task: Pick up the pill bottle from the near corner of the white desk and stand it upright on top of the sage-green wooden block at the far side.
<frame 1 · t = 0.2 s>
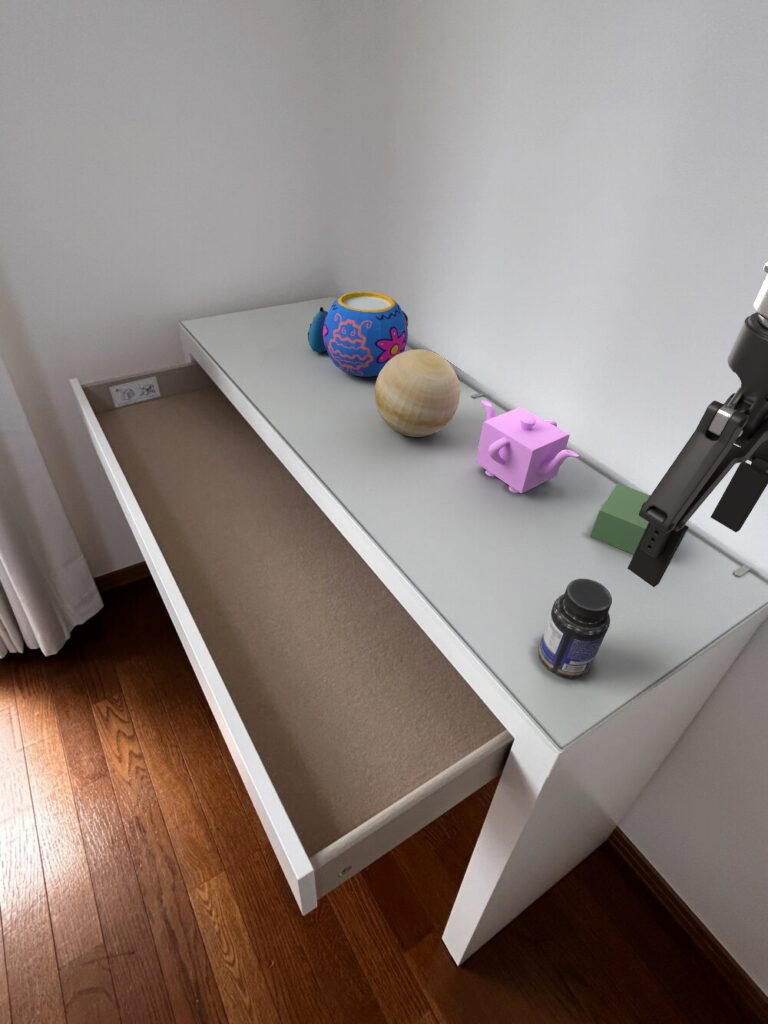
hand: (686, 548, 53), 20 cm above the table, tool pointing down, fingers open, 13 cm apart
pill bottle: (562, 659, 67), on the table
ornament: (321, 351, 129), on the table
ceramic pot: (364, 371, 123), on the table
decorative ball: (413, 431, 105), on the table
block: (626, 533, 85), on the table
teapot: (514, 476, 95), on the table
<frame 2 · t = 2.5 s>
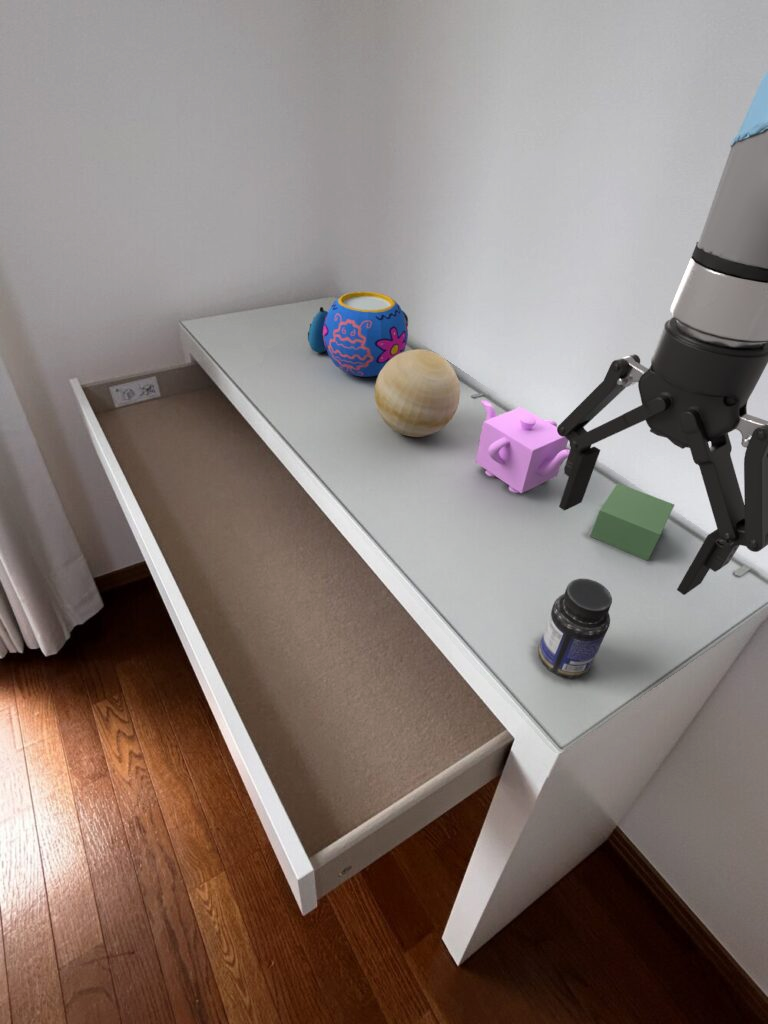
hand: (625, 542, 55), 19 cm above the table, tool pointing down, fingers open, 13 cm apart
nothing on the table moved.
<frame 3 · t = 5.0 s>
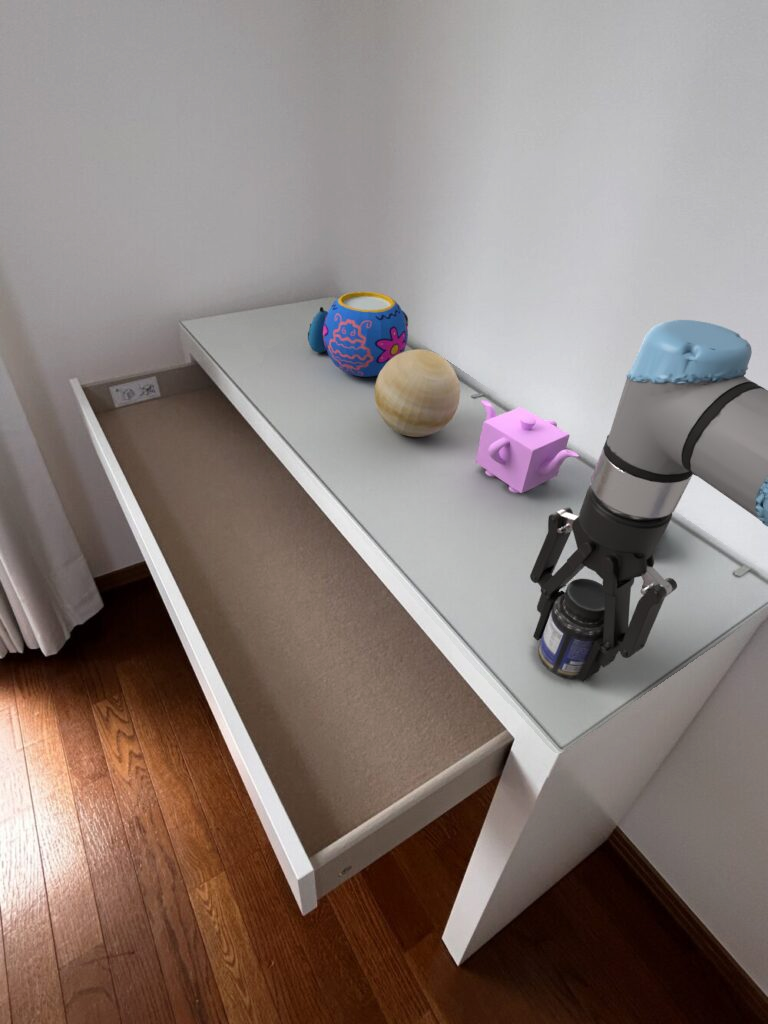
hand: (565, 653, 66), 1 cm above the table, tool pointing down, fingers closed on pill bottle, 6 cm apart
pill bottle: (562, 659, 67), on the table, touching gripper
everything else where it was.
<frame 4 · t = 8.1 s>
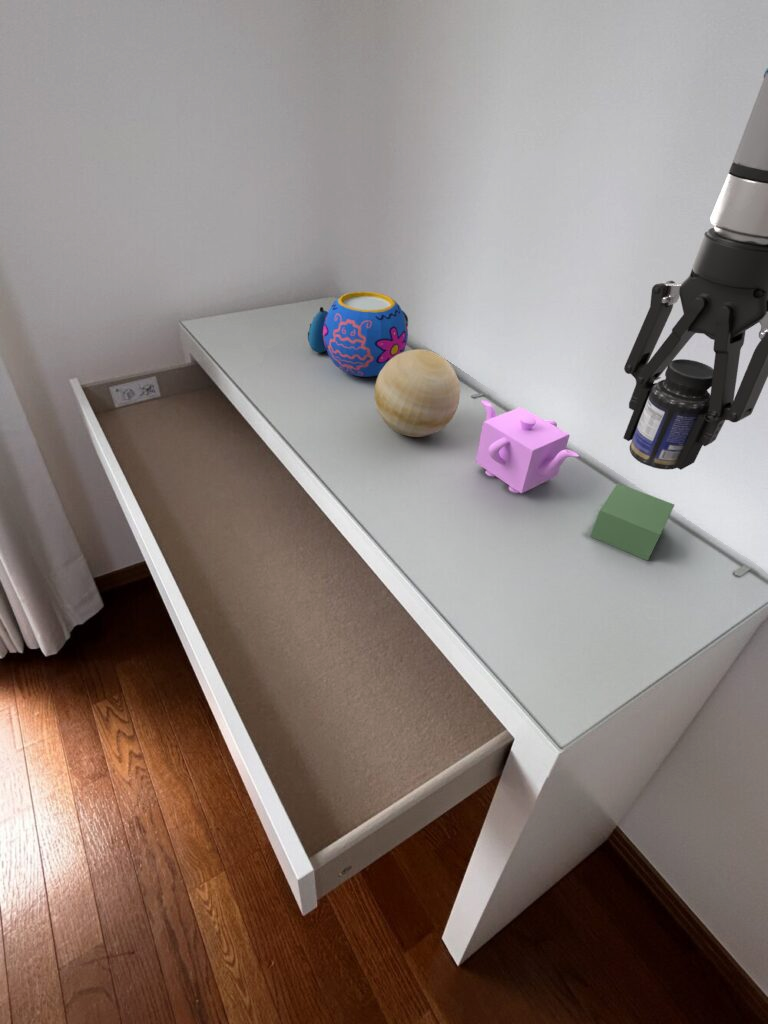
hand: (657, 449, 66), 20 cm above the table, tool pointing down, fingers closed on pill bottle, 6 cm apart
pill bottle: (654, 458, 66), point 19 cm above the table, touching gripper
everything else where it was.
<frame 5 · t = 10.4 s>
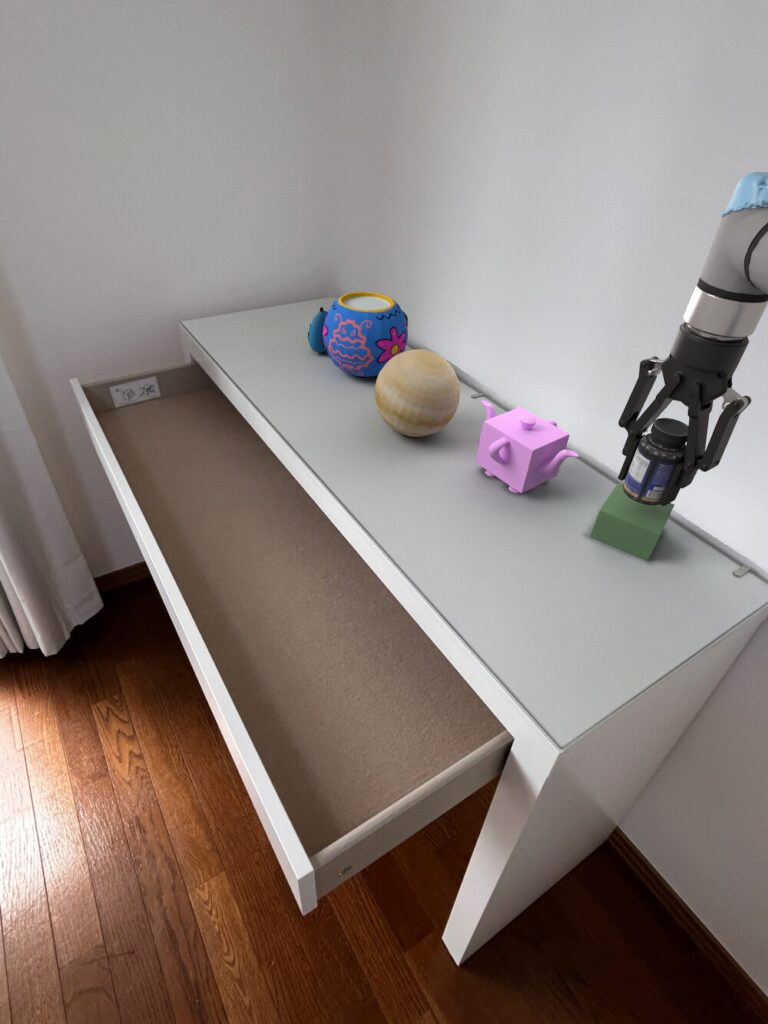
hand: (645, 488, 80), 8 cm above the table, tool pointing down, fingers closed on pill bottle, 6 cm apart
pill bottle: (642, 495, 81), point 7 cm above the table, touching gripper
everything else where it was.
when the fingers open (6 cm above the table, at t = 11.5 s): pill bottle stays where it is, resting on block.
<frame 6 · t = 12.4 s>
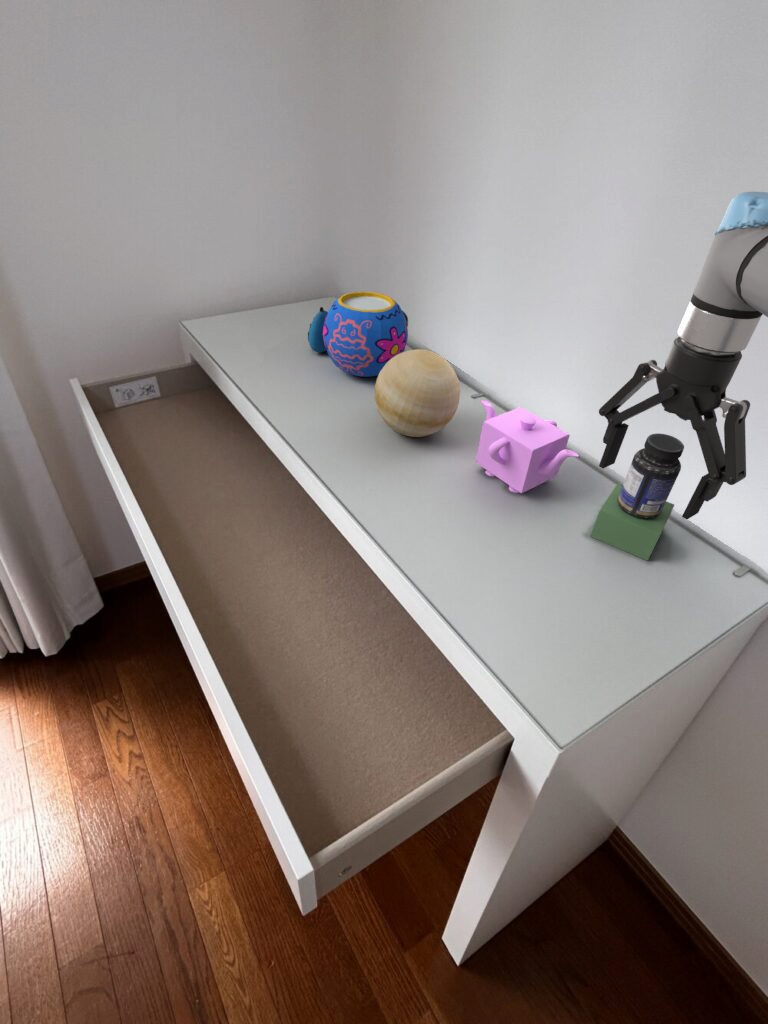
hand: (646, 488, 80), 8 cm above the table, tool pointing down, fingers open, 13 cm apart
pill bottle: (637, 508, 82), point 5 cm above the table, touching block
everything else where it was.
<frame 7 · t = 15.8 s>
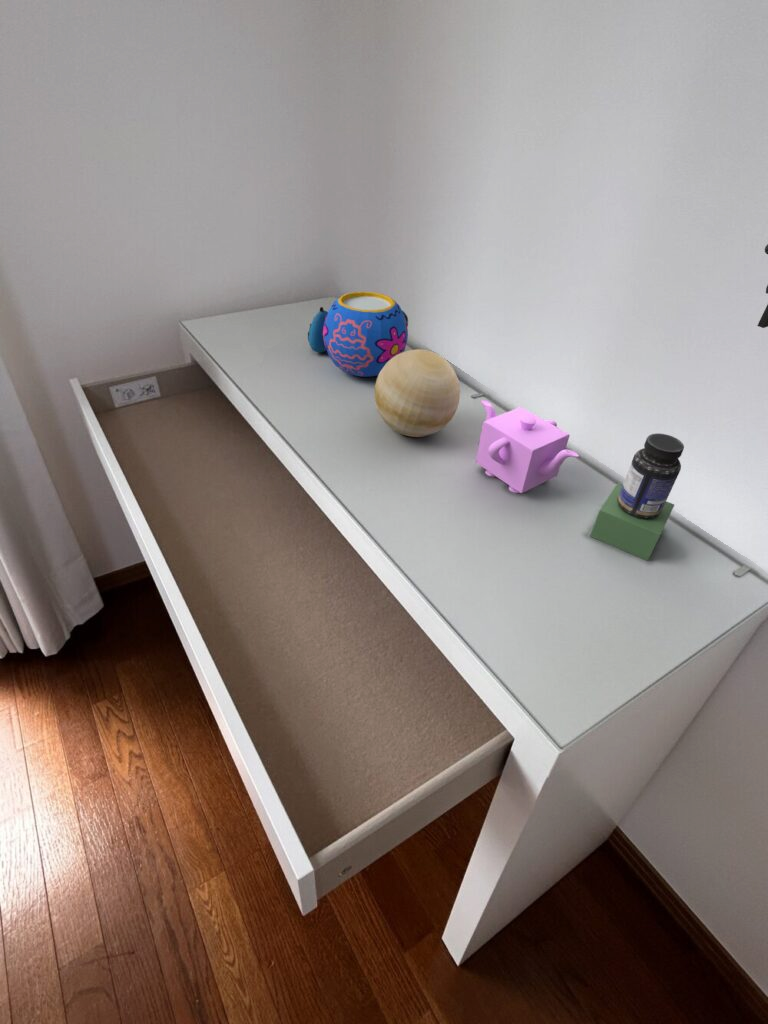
nothing on the table moved.
at the end: pill bottle 0.0 cm off-centre on the block, point 4.8 cm above the block's base; pill bottle tilted 0°; the gripper is holding nothing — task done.
